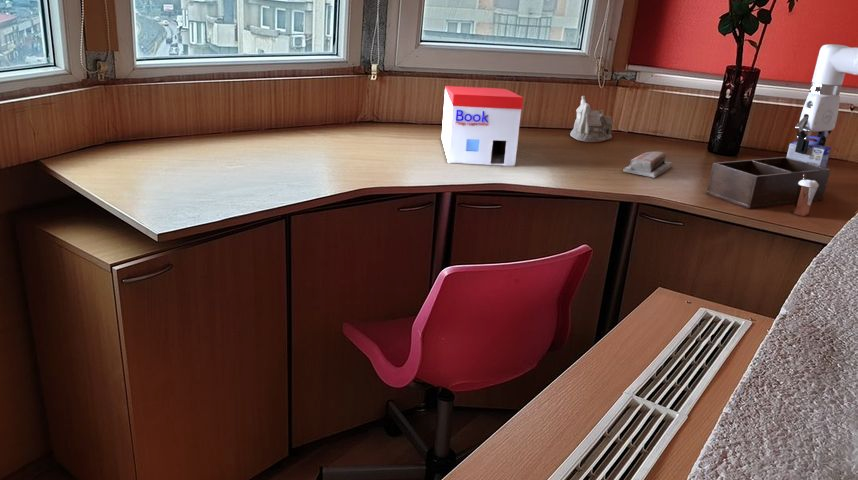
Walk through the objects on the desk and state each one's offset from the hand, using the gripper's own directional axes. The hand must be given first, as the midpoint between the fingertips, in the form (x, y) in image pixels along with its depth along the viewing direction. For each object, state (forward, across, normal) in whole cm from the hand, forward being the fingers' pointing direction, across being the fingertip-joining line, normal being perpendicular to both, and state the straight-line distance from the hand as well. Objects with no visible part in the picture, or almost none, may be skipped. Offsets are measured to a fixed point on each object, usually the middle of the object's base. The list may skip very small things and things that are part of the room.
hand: (808, 151), depth 210 cm
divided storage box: (+10, -22, -6) cm, 25 cm away
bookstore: (+10, -75, +62) cm, 98 cm away
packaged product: (+10, -34, +27) cm, 45 cm away
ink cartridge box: (+10, 0, 0) cm, 10 cm away
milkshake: (+10, -26, -20) cm, 35 cm away
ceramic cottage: (+10, -20, +71) cm, 75 cm away
